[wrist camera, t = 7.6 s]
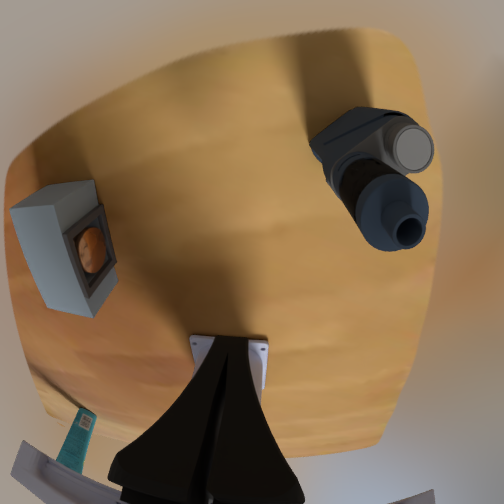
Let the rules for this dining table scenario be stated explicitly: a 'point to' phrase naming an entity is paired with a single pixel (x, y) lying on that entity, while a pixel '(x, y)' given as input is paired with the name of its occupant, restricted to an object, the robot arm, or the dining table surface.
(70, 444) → the tube
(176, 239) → the dining table surface
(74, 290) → the sleeve block
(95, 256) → the peg
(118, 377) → the dining table surface
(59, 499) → the robot arm
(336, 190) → the vaping device
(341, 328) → the dining table surface
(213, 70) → the dining table surface
